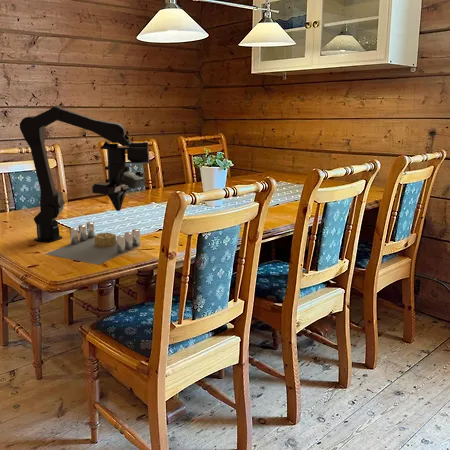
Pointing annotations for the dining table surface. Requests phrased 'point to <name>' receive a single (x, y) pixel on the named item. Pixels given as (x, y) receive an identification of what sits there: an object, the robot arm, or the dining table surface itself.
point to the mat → (87, 252)
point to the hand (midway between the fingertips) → (118, 210)
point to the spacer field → (122, 241)
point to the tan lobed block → (105, 240)
